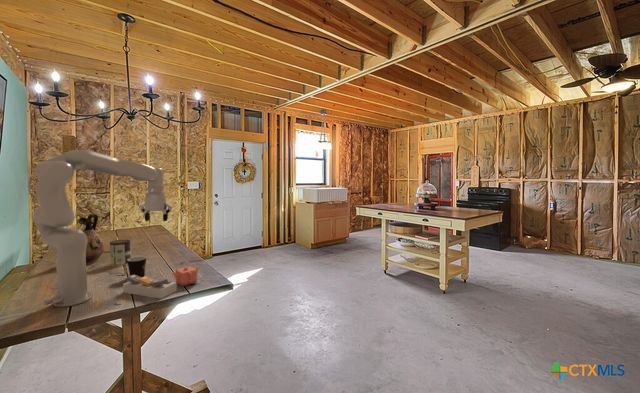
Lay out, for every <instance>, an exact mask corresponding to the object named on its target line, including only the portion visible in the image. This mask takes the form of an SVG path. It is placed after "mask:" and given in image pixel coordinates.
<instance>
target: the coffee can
mask: <svg viewBox="0 0 640 393" xmlns="http://www.w3.org/2000/svg"><path fill="white" fill-rule="evenodd" d="M109 248H110V250H109V251H110V266H112V267H121V266H128V262H127V259H129V258H132V257H131V255H132V254H131V240H130V239H118V240H116V239H115V240H112V241H109Z"/></svg>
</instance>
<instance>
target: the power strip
mask: <svg viewBox="0 0 640 393" xmlns="http://www.w3.org/2000/svg"><path fill="white" fill-rule="evenodd" d="M153 279H154V278H153ZM154 280H156V281H157V280H158V279H154ZM177 284H178V283H177V282H176V281H168V282H167V283H164V284H162V285H157V286H150V285H149V286H147V285H144V284H142V283H138V284H134V283H132V282H130V281H127V282H125V283H123V284H122V292H123V293H125V294H130V295H137V296H142V297H148V298H153V299H163V298H166V297H168V296H169V295H171V294H174V293H175V292H177V291H178V289H177V286H178V285H177Z"/></svg>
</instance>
